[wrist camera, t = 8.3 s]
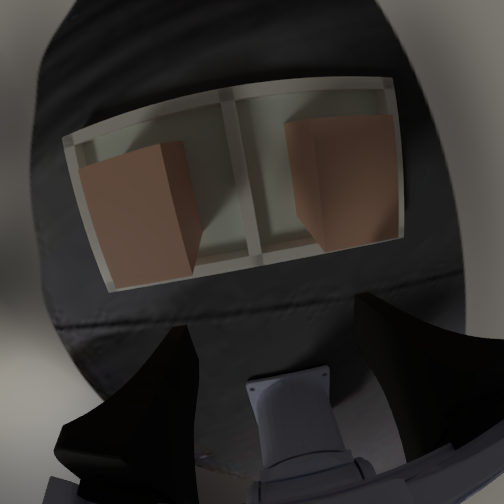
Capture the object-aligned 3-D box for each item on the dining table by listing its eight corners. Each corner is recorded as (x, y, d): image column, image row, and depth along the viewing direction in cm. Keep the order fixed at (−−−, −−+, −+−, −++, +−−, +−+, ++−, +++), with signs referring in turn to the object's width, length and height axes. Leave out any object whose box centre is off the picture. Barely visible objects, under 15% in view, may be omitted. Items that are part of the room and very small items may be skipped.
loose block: (353, 206, 19) (398, 237, 13) (296, 216, 19) (324, 252, 13) (344, 117, 16) (392, 114, 11) (283, 123, 16) (310, 118, 11)
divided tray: (389, 227, 21) (403, 237, 19) (118, 278, 20) (108, 292, 18) (376, 81, 16) (392, 77, 14) (77, 136, 16) (61, 137, 14)
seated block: (202, 232, 19) (192, 275, 13) (145, 244, 19) (116, 289, 13) (182, 140, 16) (159, 143, 11) (122, 156, 16) (77, 169, 11)
